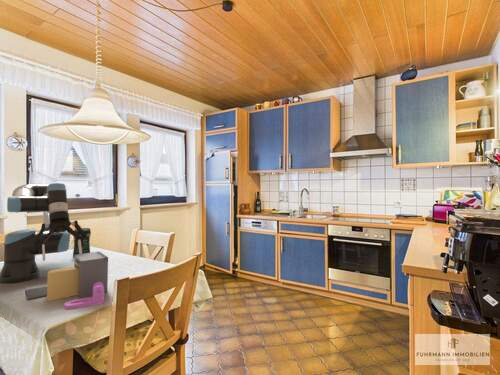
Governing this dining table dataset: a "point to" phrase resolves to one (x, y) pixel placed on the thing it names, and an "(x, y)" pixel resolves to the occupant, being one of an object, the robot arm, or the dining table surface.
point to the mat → (36, 293)
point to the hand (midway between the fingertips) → (63, 256)
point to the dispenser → (91, 272)
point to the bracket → (95, 299)
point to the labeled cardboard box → (62, 283)
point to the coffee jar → (86, 241)
